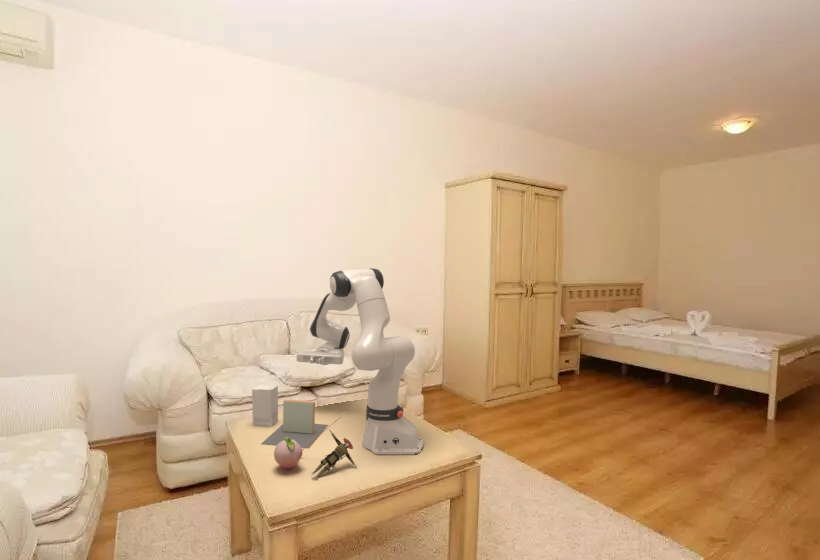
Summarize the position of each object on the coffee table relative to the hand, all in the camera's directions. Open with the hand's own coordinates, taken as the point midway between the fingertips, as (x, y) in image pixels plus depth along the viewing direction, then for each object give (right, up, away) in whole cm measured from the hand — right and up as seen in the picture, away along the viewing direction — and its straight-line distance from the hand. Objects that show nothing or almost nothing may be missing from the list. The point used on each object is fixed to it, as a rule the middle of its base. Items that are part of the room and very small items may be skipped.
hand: (314, 361), depth 177 cm
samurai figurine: (+14, -27, -43) cm, 52 cm away
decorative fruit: (+1, -26, -43) cm, 50 cm away
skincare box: (-18, -24, -8) cm, 31 cm away
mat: (-3, -25, -17) cm, 30 cm away
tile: (-3, -24, -15) cm, 28 cm away
